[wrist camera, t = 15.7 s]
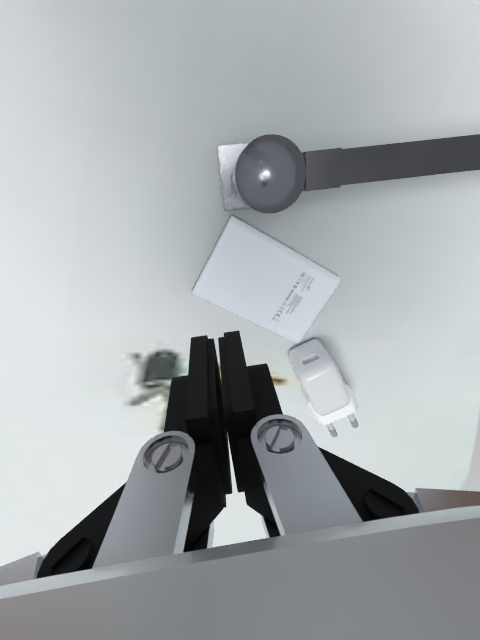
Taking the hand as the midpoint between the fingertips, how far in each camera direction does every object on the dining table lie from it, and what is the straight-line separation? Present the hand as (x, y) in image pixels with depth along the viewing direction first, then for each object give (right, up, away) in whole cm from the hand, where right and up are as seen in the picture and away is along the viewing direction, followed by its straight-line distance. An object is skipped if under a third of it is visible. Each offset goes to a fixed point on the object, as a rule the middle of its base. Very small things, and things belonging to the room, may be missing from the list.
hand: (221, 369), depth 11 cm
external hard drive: (+3, +6, +21) cm, 22 cm away
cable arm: (+13, +13, +11) cm, 21 cm away
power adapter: (+10, -5, +26) cm, 28 cm away
